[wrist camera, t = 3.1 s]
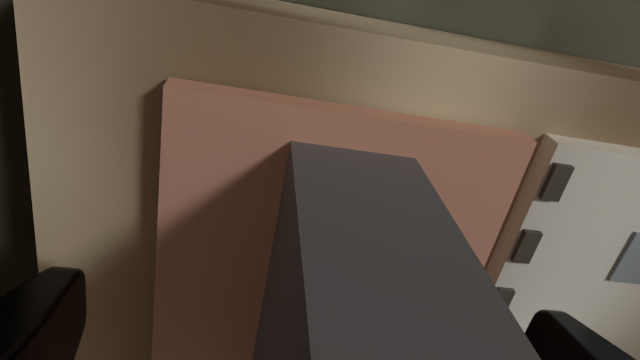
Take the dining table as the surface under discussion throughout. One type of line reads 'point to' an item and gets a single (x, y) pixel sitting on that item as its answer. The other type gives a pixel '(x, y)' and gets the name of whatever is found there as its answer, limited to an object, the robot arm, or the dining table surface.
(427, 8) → the dining table surface
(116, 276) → the ticket board
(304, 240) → the stub
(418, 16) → the dining table surface
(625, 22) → the dining table surface
